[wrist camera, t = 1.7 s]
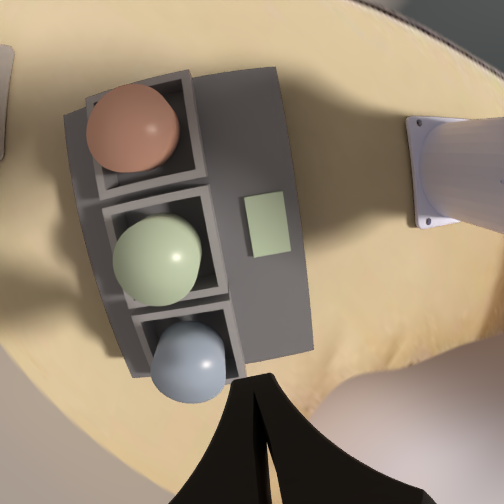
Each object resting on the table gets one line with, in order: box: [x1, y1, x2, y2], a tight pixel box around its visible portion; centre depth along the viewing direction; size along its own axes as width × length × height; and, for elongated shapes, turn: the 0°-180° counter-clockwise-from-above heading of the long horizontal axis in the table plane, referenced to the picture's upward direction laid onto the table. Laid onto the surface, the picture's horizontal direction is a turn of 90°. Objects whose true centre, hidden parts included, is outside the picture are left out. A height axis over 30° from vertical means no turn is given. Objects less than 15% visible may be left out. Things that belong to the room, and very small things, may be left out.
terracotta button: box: [86, 84, 180, 173], centre depth 11 cm, size 4×4×2 cm
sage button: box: [113, 212, 202, 306], centre depth 13 cm, size 4×4×2 cm
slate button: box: [150, 321, 226, 404], centre depth 14 cm, size 4×4×2 cm
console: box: [64, 67, 314, 385], centre depth 16 cm, size 12×17×4 cm
